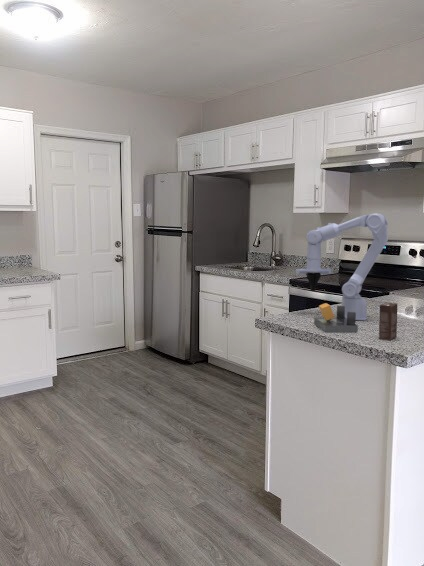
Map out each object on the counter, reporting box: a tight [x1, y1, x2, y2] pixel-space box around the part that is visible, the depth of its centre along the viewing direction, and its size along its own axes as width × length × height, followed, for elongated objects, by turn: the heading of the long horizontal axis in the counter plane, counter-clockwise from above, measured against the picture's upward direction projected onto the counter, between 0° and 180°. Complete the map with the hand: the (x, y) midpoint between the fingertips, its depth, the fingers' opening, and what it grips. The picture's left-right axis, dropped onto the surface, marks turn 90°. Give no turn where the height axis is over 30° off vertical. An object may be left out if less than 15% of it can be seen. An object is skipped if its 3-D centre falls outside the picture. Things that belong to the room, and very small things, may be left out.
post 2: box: [347, 312, 357, 326], centre depth 178 cm, size 3×3×4 cm
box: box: [378, 302, 398, 341], centre depth 168 cm, size 6×4×12 cm
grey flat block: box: [313, 316, 359, 334], centre depth 184 cm, size 12×15×3 cm
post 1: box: [336, 305, 345, 319], centre depth 190 cm, size 3×3×4 cm
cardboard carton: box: [318, 302, 335, 322], centre depth 183 cm, size 3×6×6 cm, turn 3°
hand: (312, 290), depth 206 cm, fingers closed
